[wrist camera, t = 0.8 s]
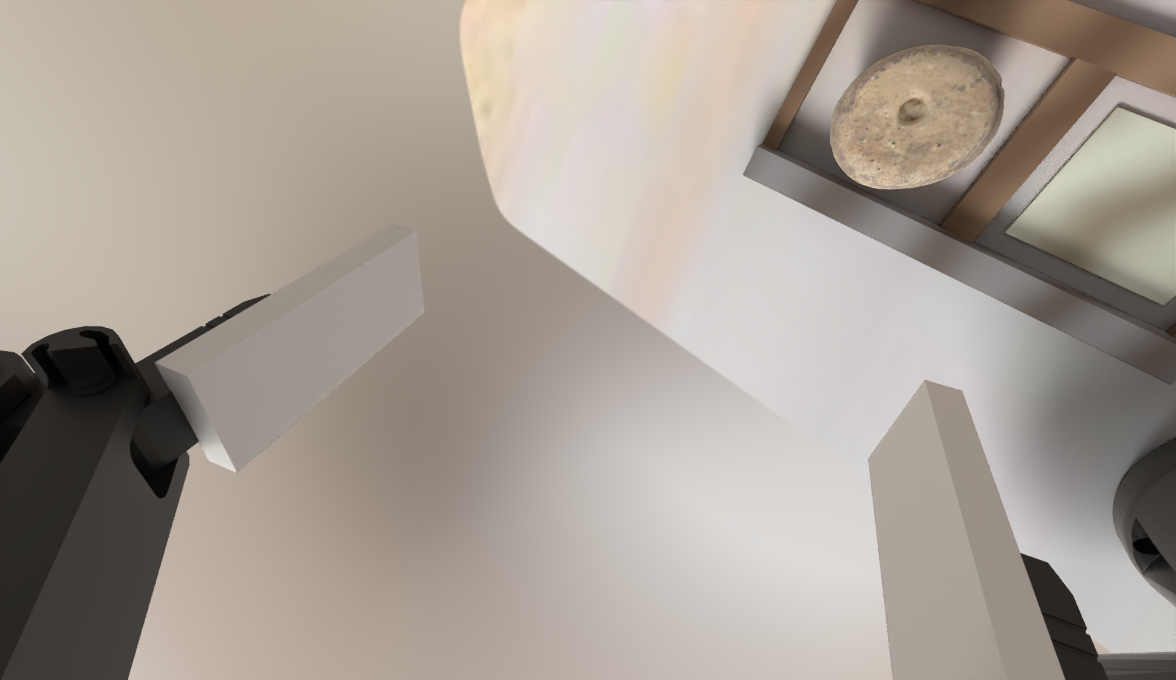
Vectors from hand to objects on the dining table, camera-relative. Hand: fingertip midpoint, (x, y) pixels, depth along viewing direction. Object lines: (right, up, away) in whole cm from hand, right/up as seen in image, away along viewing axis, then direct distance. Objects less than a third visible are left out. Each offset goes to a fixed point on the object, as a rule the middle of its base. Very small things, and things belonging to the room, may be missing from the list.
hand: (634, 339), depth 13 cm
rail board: (+24, +11, +16) cm, 31 cm away
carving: (+18, +14, +18) cm, 30 cm away
